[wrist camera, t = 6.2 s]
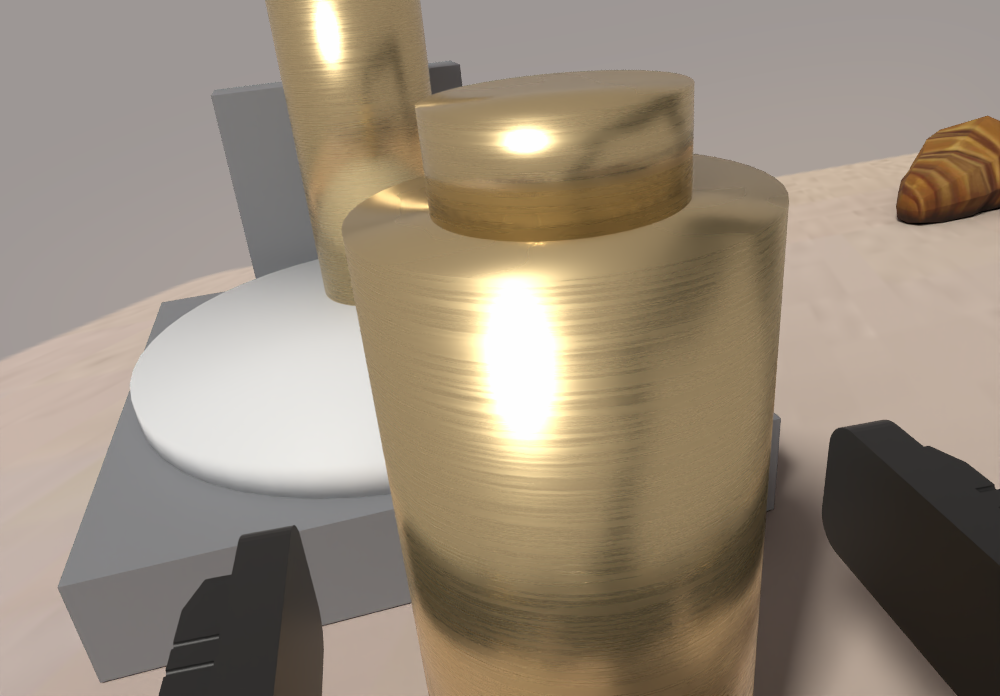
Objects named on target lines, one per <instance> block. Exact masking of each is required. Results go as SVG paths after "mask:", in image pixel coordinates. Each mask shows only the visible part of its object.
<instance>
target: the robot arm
mask: <svg viewBox="0 0 1000 696" xmlns="http://www.w3.org/2000/svg"><path fill="white" fill-rule="evenodd" d="M822 520H823V525H824V529H825V532H826V535H827V538H828V540H829V542H830V544H831V546H832V547H833V549H834V550H835V552H836V553H837V554H838V555H839V557H840V558H841V559H842V560H843V561H844V563H845V564H846V565H847V566H848V567H849V568H850V570H851V571H852V572H853V573H854V574H855V576H856V577H857V578H858V579H859V580H860V581H861V583H862V584H863V585H864V586H865V587H866V588H867V590H868V591H869V592H870V593H871V594H872V596H873V597H874V598H875V599H876V600H877V601H878V603H879V604H880V605H881V606H882V607H883V609H884V610H885V611H886V612H887V613H888V614H889V616H890V617H891V618H892V619H893V620H894V621H895V623H896V624H897V625H898V626H899V627H900V629H901V630H902V631H903V632H904V633H905V634H906V636H907V637H908V638H909V639H910V640H911V642H912V643H913V644H914V645H915V646H916V647H917V649H918V650H919V651H920V652H921V653H922V654H923V656H924V657H925V658H926V659H927V660H928V662H929V663H930V664H931V665H932V666H933V667H934V669H935V670H936V671H937V672H938V673H939V675H940V676H941V677H942V678H943V679H944V680H945V682H946V683H947V684H948V685H949V686H950V687H951V689H952V690H953V691H954V692H955V693H956V695H957V696H1000V489H998V490H996V489H995V486H994V484H993V483H992V482H990V481H989V480H988V479H987V478H985V477H984V476H983V475H982V474H980V473H979V472H978V471H976V470H975V469H974V468H973V467H971V466H970V465H969V464H967V463H966V462H964V461H962V460H960V459H957V458H955V457H953V456H951V455H948V454H946V453H944V452H942V451H940V450H937V449H935V448H933V447H931V446H925V447H923V446H922V445H921V444H920V443H919V442H917V441H916V440H915V439H914V438H912V437H911V436H910V435H909V434H907V433H906V432H905V431H904V430H903V429H901V428H900V427H899V426H898V425H896V424H895V423H893V422H892V421H889V420H880V421H874V422H869V423H863V424H858V425H852V426H847V427H841V428H838V429H836V430H835V431H834V432H833V433H832V435H831V438H830V443H829V451H828V460H827V469H826V478H825V487H824V496H823V505H822ZM323 654H324V646H323V631H322V622H321V616H320V610H319V606H318V602H317V598H316V594H315V590H314V586H313V583H312V579H311V575H310V571H309V567H308V563H307V560H306V556H305V552H304V548H303V544H302V540H301V537H300V533H299V531H298V529H297V527H296V526H295V525H292V526H287V527H281V528H276V529H270V530H264V531H259V532H253V533H248V534H243V535H241V536H240V538H239V541H238V545H237V550H236V555H235V560H234V565H233V570H232V574H231V575H225V576H220V577H215V578H209V579H205V580H204V581H203V583H202V584H201V585H200V587H199V588H198V589H197V591H196V592H195V593H194V595H193V596H192V597H191V598H190V600H189V601H188V602H187V604H186V605H185V606H184V608H183V609H182V611H181V615H180V618H179V622H178V626H177V629H176V633H175V637H174V641H173V649H171V652H170V655H169V659H168V663H167V667H166V677H164V678H163V681H162V685H161V689H160V692H159V696H322V679H323Z"/></svg>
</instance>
